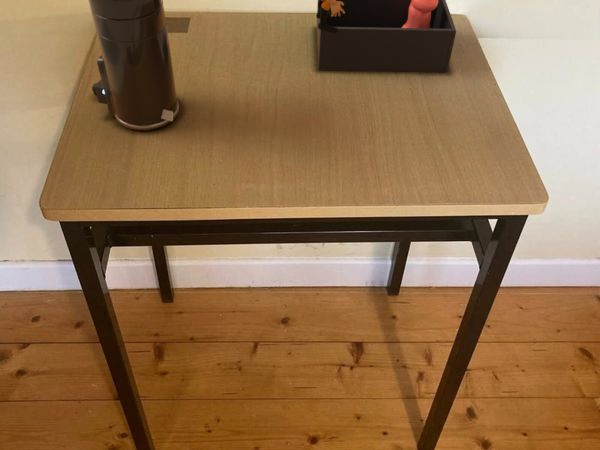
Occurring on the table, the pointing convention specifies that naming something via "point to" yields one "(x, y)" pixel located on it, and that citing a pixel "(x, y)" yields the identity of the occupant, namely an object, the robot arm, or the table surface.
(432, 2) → the pink tall rounded piece
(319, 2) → the action figure
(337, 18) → the bin
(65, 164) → the table surface
